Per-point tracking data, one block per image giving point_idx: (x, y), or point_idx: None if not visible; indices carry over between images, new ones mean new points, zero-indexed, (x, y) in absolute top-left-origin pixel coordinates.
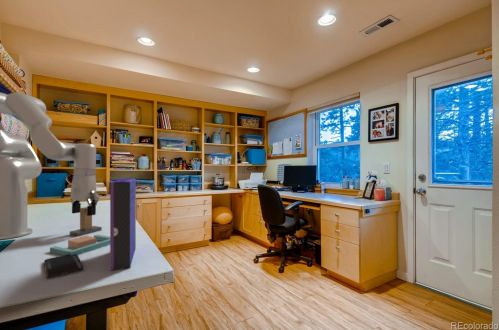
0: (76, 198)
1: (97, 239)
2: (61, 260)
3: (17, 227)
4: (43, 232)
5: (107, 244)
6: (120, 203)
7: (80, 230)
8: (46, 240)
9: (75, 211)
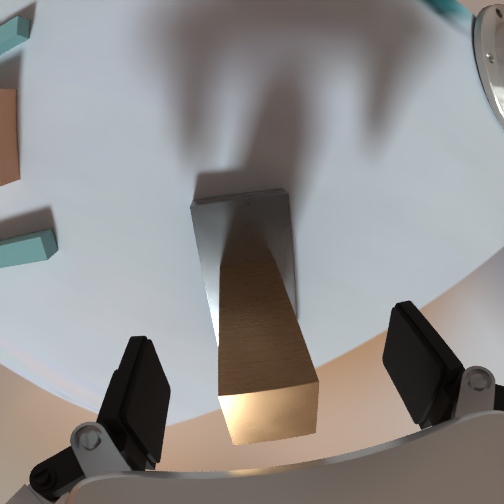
0: (340, 490)
1: (27, 235)
2: None
3: None
4: (474, 154)
5: None
6: None
7: (247, 250)
8: (284, 54)
9: (395, 332)
